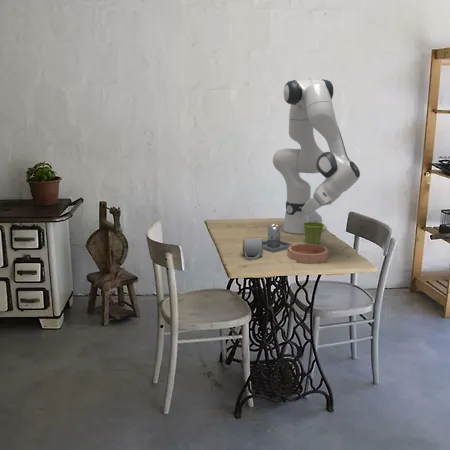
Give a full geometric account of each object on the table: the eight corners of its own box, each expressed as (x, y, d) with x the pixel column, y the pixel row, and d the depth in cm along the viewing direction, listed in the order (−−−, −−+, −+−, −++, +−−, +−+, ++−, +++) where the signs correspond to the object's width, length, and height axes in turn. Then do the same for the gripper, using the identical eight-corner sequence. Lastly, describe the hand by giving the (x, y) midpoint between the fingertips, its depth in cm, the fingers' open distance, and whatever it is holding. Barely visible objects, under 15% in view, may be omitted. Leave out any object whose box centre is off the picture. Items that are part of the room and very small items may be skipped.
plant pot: (323, 241, 258) (324, 222, 256) (322, 246, 249) (323, 227, 247) (302, 239, 260) (303, 221, 257) (301, 245, 251) (301, 226, 249)
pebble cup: (273, 244, 250) (274, 222, 247) (282, 247, 246) (283, 224, 243) (264, 246, 247) (265, 224, 244) (273, 249, 243) (274, 226, 240)
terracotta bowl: (306, 249, 245) (307, 241, 244) (335, 258, 233) (336, 250, 232) (279, 256, 235) (280, 248, 234) (308, 265, 223) (308, 257, 222)
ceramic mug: (243, 253, 239) (243, 235, 237) (262, 253, 239) (263, 235, 237) (241, 261, 229) (242, 242, 227) (262, 261, 229) (262, 243, 227)
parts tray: (274, 242, 255) (274, 238, 254) (293, 248, 246) (293, 244, 245) (253, 247, 247) (254, 243, 247) (273, 254, 238) (273, 249, 238)
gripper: (327, 183, 241) (303, 204, 248) (314, 192, 223) (289, 214, 229) (336, 195, 241) (313, 215, 247) (325, 204, 223) (300, 226, 229)
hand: (301, 215), depth 238 cm, fingers open, 8 cm apart
